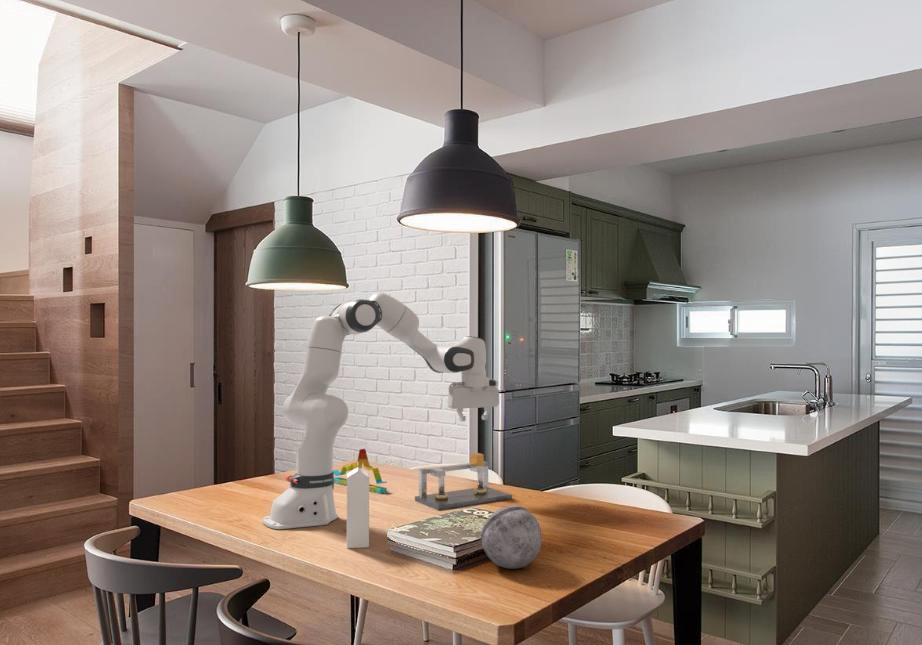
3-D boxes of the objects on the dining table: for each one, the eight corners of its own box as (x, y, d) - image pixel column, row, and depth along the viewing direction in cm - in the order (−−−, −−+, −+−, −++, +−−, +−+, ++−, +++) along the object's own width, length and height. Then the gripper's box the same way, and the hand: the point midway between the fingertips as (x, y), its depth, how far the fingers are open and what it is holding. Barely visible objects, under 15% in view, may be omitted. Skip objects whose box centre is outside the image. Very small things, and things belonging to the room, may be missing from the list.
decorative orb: (521, 554, 179) (521, 496, 179) (554, 571, 166) (554, 508, 166) (471, 563, 172) (471, 503, 172) (501, 581, 159) (501, 516, 159)
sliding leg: (478, 488, 243) (478, 455, 244) (469, 485, 248) (469, 453, 248) (485, 487, 245) (485, 454, 245) (476, 484, 250) (476, 452, 250)
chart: (330, 482, 272) (330, 444, 272) (337, 481, 274) (337, 443, 274) (379, 494, 251) (380, 453, 251) (386, 493, 253) (386, 452, 253)
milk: (368, 541, 191) (369, 461, 192) (369, 547, 185) (369, 465, 186) (346, 542, 190) (347, 461, 191) (346, 548, 185) (347, 465, 185)
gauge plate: (438, 510, 226) (438, 476, 226) (414, 500, 240) (414, 468, 240) (511, 498, 242) (511, 467, 243) (485, 490, 256) (485, 460, 256)
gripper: (453, 382, 239) (453, 422, 239) (501, 381, 250) (501, 419, 250) (444, 382, 244) (444, 421, 244) (491, 380, 255) (491, 418, 255)
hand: (473, 420), depth 247 cm, fingers open, 8 cm apart
